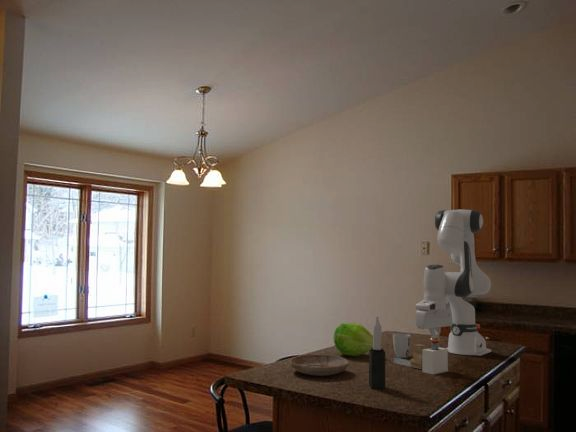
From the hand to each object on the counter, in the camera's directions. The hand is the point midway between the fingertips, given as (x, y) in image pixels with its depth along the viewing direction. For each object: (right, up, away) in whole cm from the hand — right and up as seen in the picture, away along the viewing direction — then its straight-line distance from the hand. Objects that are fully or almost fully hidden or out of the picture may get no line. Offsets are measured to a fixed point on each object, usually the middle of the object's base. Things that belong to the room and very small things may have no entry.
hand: (434, 338), depth 211 cm
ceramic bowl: (-48, -13, -5) cm, 50 cm away
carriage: (-5, -14, +5) cm, 16 cm away
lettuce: (-29, -15, +30) cm, 44 cm away
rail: (-7, -14, +8) cm, 18 cm away
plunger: (0, -6, 0) cm, 6 cm away
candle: (-28, -11, -27) cm, 40 cm away
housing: (0, -13, -1) cm, 13 cm away
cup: (-7, -16, +29) cm, 34 cm away
